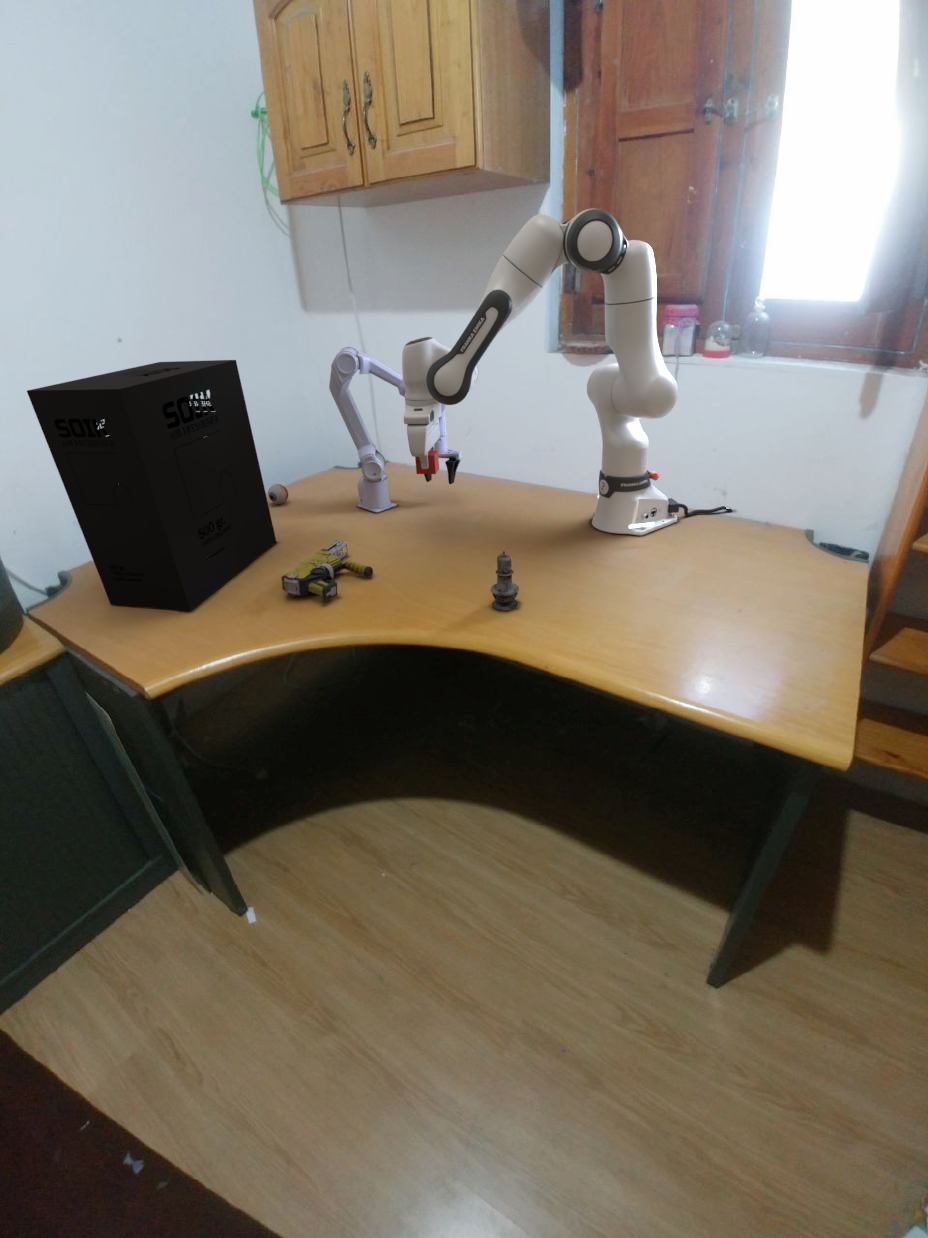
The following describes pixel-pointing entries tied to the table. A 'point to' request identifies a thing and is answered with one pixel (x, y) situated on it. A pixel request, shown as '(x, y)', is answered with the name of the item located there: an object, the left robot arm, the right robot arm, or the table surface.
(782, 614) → the table surface
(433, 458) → the cube
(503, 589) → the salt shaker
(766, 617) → the table surface
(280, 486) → the eyeball
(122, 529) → the cardboard box
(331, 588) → the toy gun
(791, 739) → the table surface
